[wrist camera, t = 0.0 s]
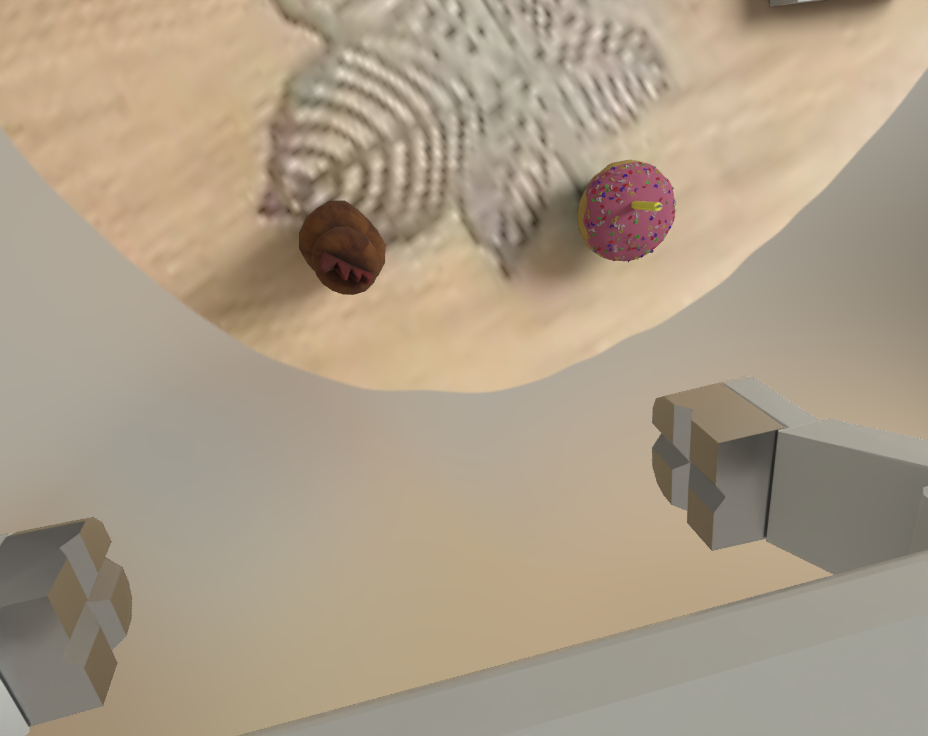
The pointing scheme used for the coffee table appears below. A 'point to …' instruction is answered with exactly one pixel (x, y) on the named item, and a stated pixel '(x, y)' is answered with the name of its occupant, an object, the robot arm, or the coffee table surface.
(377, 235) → the wooden figurine
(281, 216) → the coffee table surface
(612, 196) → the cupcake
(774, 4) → the grey compartment tray
